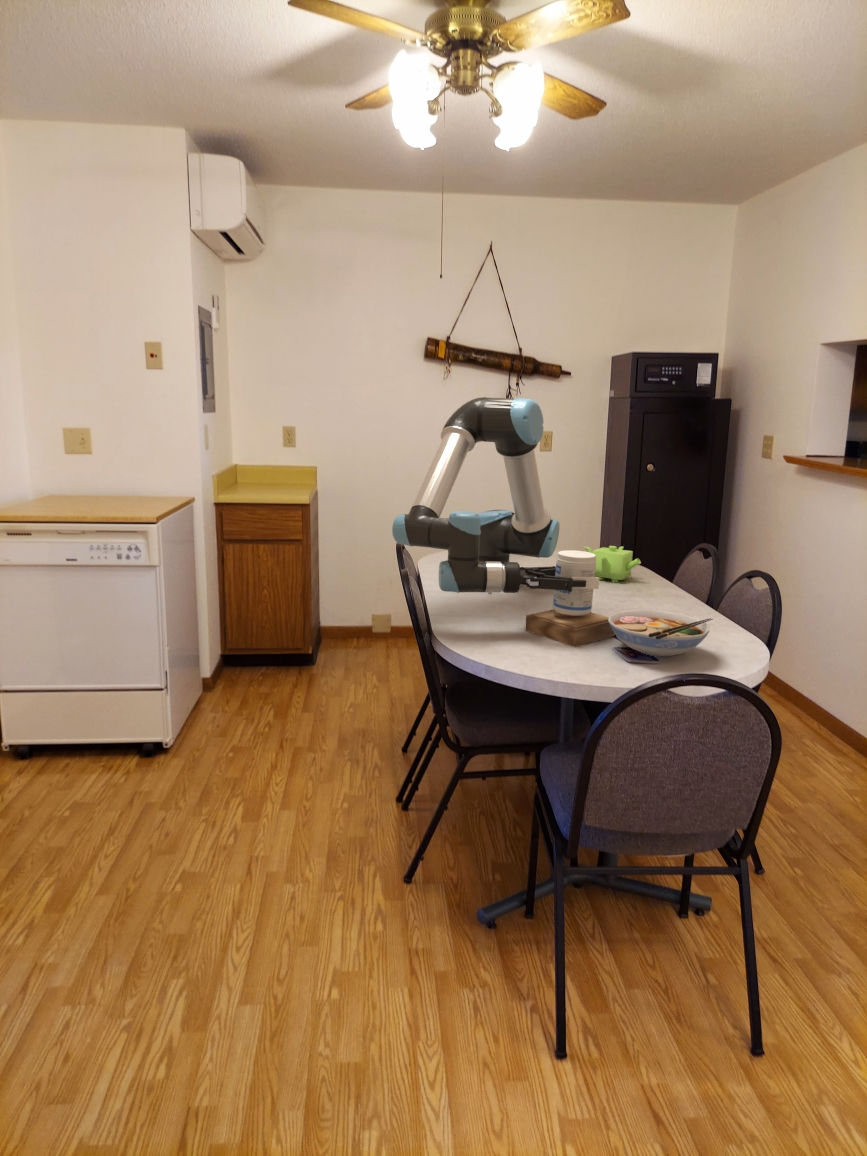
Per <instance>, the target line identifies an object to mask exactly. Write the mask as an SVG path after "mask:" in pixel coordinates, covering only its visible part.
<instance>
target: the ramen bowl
mask: <svg viewBox="0 0 867 1156" xmlns="http://www.w3.org/2000/svg"><path fill="white" fill-rule="evenodd" d="M608 617H609V619H608V621H609V624H610V626H611V628H612V630H613V632H614V633H615V635H616V638H617V639H618V640H619V641H621V642H622V643H623V644H624V645H626V646H627V647H628V648H630V649H632V650H634V651H637V652H639V653H640V652H641V653H640V654H642V653H643V654H642V655H644V654H646V655H645V656H647V655H650V656H649V657H651V656H654V657H653V658H669V657H672V656H675V655H680V654H681V655H682V654H685V653H687V652H690V651H691V650H692V649H695V648H696V647H697V646H698V645H699V644H700V643H702V642H703V641H704V640H705V638H706V637H707V636H708V634H709V633H710V631H711V627H710V624H708V623H707V622H710V621H712V620H714V618H711V617H710V618H706V619H703V620H702V619H700V618H697V617H693V616H690V615H687V614H682V613H678V612H677V613H675V612H672V611H664V610H653V609H627V610H621V611H620V610H619V611H616V612H614V613H612V614H609V615H608Z"/></svg>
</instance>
